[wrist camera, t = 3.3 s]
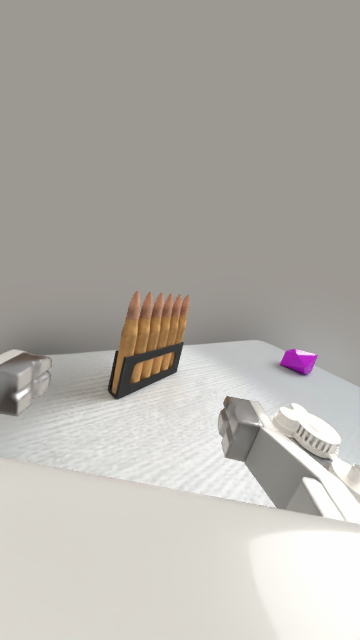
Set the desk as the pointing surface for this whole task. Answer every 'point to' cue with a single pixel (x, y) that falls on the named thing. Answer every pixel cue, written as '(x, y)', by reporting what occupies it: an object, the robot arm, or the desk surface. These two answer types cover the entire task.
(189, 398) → the desk surface
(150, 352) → the ammunition clip
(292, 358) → the crystal
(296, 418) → the white lobed figurine
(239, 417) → the robot arm
